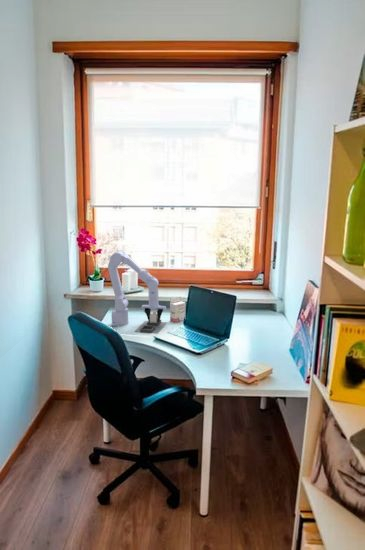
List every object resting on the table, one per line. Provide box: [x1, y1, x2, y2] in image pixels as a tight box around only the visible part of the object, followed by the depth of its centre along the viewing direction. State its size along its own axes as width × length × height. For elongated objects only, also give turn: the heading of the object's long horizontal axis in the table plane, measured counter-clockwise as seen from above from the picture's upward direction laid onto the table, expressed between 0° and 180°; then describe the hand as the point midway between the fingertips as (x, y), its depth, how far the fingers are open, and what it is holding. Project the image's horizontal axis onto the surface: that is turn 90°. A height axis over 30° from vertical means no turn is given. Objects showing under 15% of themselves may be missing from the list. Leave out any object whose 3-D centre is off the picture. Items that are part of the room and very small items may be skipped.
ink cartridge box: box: [169, 296, 186, 323], centre depth 248 cm, size 9×5×15 cm, turn 130°
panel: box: [133, 319, 168, 335], centre depth 237 cm, size 14×20×2 cm
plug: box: [150, 311, 158, 323], centre depth 242 cm, size 4×4×7 cm
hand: (154, 320), depth 242 cm, fingers open, 5 cm apart
